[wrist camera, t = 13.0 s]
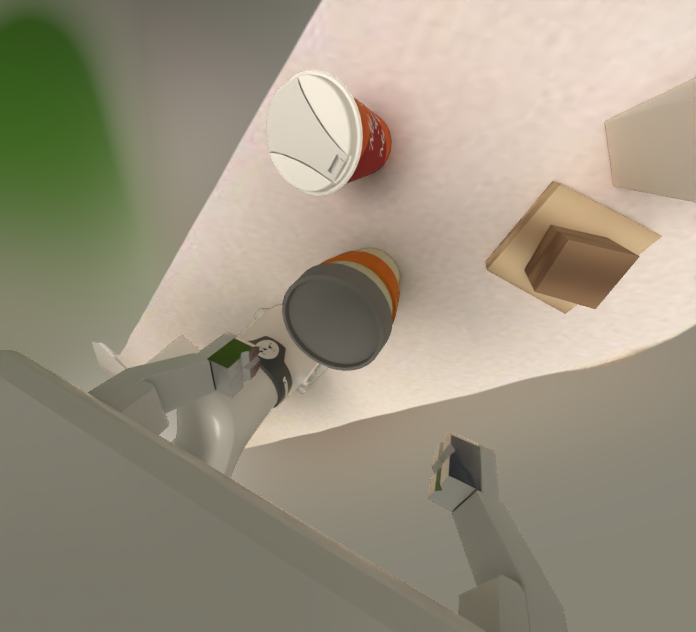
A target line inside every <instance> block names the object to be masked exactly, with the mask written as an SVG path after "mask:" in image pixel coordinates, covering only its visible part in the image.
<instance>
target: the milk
mask: <svg viewBox="0 0 696 632" xmlns="http://www.w3.org/2000/svg"><path fill="white" fill-rule="evenodd" d="M605 128H606V135H607V142H608V150H609V157H610V164H611V171H612V179H613V185H614V186H616V187H621V188H626V189H631V190H636V191H641V192H646V193H651V194H656V195H661V196H666V197H671V198H676V199H681V200H686V201H692V202H696V78H694V79H692V80H690V81H688V82H686V83H684V84H682V85H679V86H677V87H675V88H673V89H671V90H669V91H667V92H665V93H663V94H661V95H659V96H657V97H654V98H652V99H650V100H648V101H646V102H644V103H642V104H640V105H638V106H636V107H634V108H632V109H629V110H627V111H625V112H623V113H621V114H619V115H617V116H615V117H613V118H611V119H609V120H607V121H605Z"/></svg>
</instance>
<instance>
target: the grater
mask: <svg viewBox="0 0 696 632" xmlns="http://www.w3.org/2000/svg"><path fill="white" fill-rule="evenodd" d="M200 351H201V350H200V349H198V348H197V347H196V346H195V345H194V344H193V343H191V342H190V341H189V340H188V339H187V338H185V337H184V336H183V335H181V336H180V337H178V338H177V339H176V340H175V341H174V342H172V343H171V344H170V345H169V346H167V347H166V348H165V349H164V350H162V351H161V352H160V353H159V354H157V355H156V356H155V357H154V358H152V359H151V360H150V361H149V362H147V363H146V364H149V363H153V362H157V361H161V360H165V359H170V358H174V357H178V356H182V355H186V354H190V353H195V354H197V353H198V352H200Z"/></svg>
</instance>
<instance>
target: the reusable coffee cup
mask: <svg viewBox="0 0 696 632" xmlns="http://www.w3.org/2000/svg"><path fill="white" fill-rule="evenodd" d="M399 282H400V273H399V270H398V267H397V265H396V263H395V261H394V260H393V259H392V258H391V257H390V256H389V255H388V254H387V253H385V252H383V251H381V250H378V249H375V248H364V249H361V250H358V251H349V252H346V253H343V254H340V255H338V256H335V257H333V258H331V259H328V260H326V261H324V262H323V263H321V264H319V265H317V266H314V267H312V268H310V269H309V270H307V271H306V272H305V273H304V274H303V275H302V276H301V277H300V278H299V279H298V280H297V281H296V282H295V283H294V284H292V285H291V286H290V287H289V289H288V290H287V292H286V294H285V296H284V300H283V303H282V315H283V321H284V324H285V327H286V330H287V331H288V333H289V335H290V337H291V339H292V340H293V341H294V343H295V344H296V345H297V347H298V348H299V349H300V350H301V351H302V352H303V353H305V354H306V355H307V356H308V357H309V358H311V359H312V360H314V361H316V362H317V363H319V364H321V365H324V366H326V367H329V368H332V369H336V370H344V371H345V370H356V369H360V368H362V367H364V366H367V365H368V364H370V363H371V362H372V361H373V360H374V359H375V358H376V356H377V355H378V354H379V352H380V351H381V349H382V348H383V346H384V345H385V343H386V342H387V340H388V339H389V336H390V333H391V329H392V324H393V322H394V319H395V316H396V311H397V306H398V301H399V294H400V293H399Z"/></svg>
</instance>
